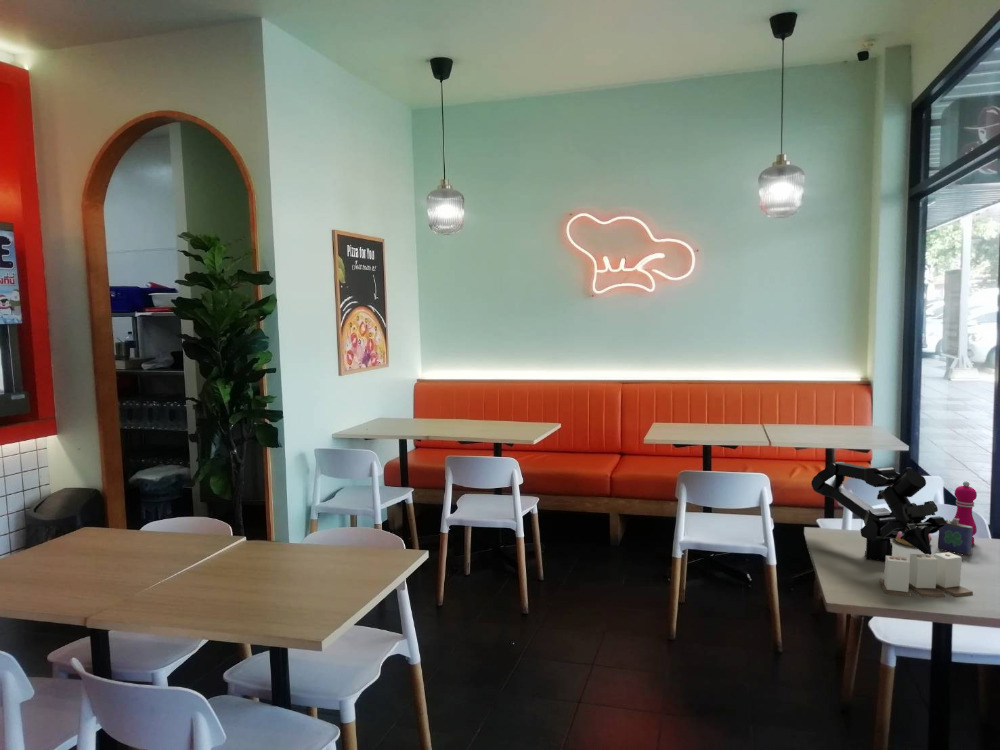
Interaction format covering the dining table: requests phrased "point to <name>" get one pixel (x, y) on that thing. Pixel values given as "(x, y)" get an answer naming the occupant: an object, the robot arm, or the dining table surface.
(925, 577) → the two-bump white pillar
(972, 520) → the pepper mill
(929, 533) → the robot arm
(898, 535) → the doughnut
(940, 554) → the white pillar with knob
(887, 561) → the three-dot tile
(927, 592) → the tile tracks
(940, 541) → the flask
